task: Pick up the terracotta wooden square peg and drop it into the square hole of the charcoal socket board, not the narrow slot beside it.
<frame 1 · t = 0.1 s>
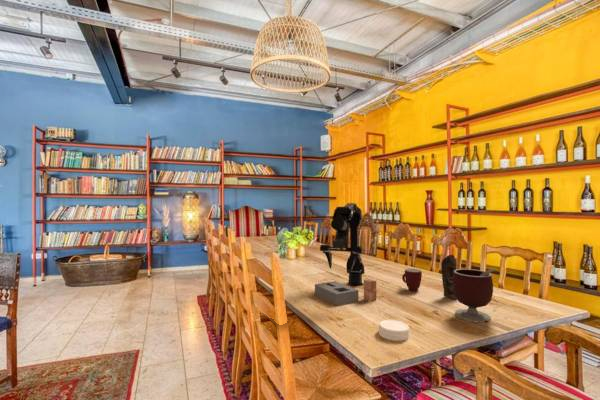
hand: (340, 269, 136), 15 cm above the table, tool pointing down, fingers open, 9 cm apart
coaster: (393, 335, 105), on the table
mug: (411, 290, 158), on the table
mate gourd: (474, 317, 120), on the table
statue: (452, 297, 145), on the table
socket board: (335, 297, 145), on the table
peg: (370, 299, 142), on the table
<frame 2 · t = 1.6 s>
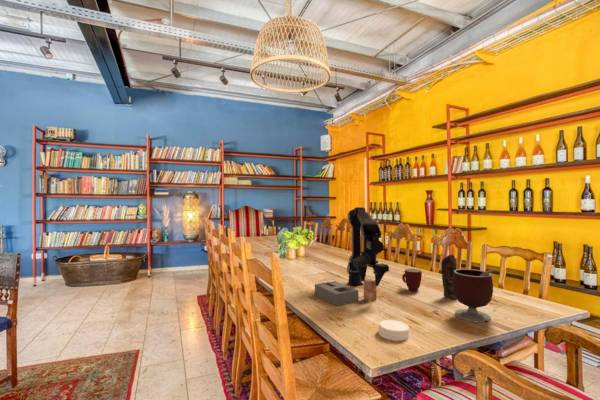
hand: (369, 283, 142), 7 cm above the table, tool pointing down, fingers open, 9 cm apart
nothing on the table moved.
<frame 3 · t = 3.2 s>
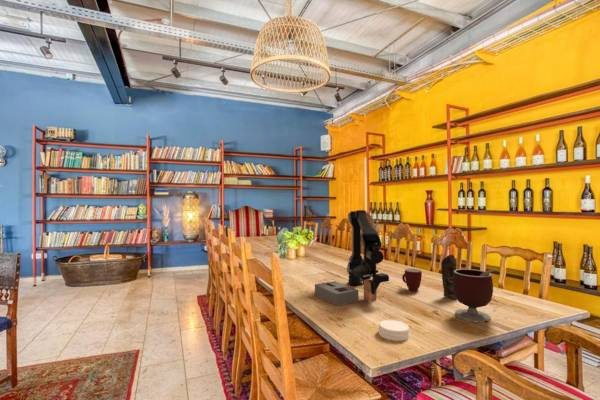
hand: (370, 293, 142), 3 cm above the table, tool pointing down, fingers closed on peg, 4 cm apart
peg: (370, 299, 142), on the table, touching gripper
everything else where it was.
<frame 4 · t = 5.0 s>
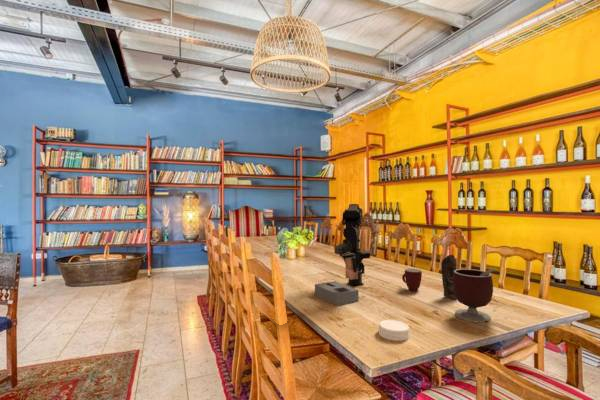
hand: (351, 271, 141), 13 cm above the table, tool pointing down, fingers closed on peg, 4 cm apart
peg: (351, 278, 141), point 10 cm above the table, touching gripper
everything else where it was.
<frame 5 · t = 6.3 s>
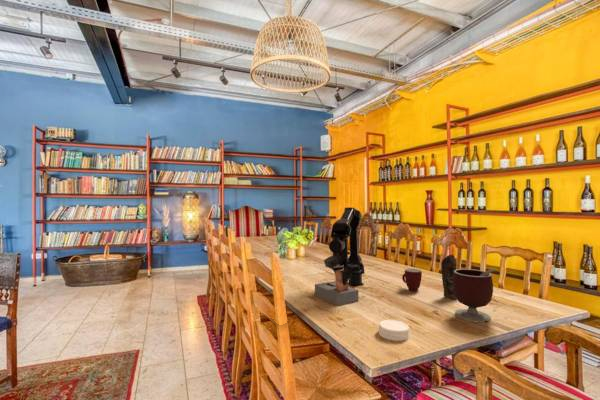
hand: (341, 284, 141), 8 cm above the table, tool pointing down, fingers closed on peg, 4 cm apart
peg: (341, 290, 141), point 4 cm above the table, touching gripper
everything else where it was.
when the fingers open (6 cm above the table, at t = 7.3 s): peg drops 3 cm, resting in socket board.
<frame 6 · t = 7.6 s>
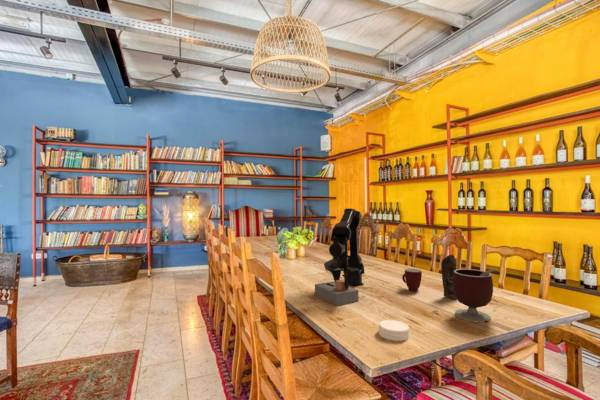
hand: (341, 287, 141), 6 cm above the table, tool pointing down, fingers open, 7 cm apart
peg: (341, 300, 141), resting in socket board
everything else where it was.
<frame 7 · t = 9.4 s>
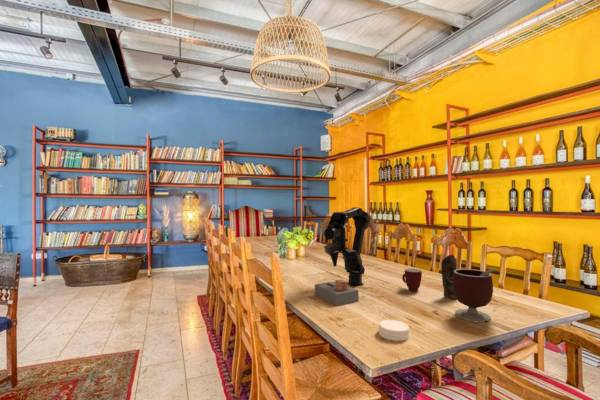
hand: (340, 268, 156), 12 cm above the table, tool pointing down, fingers open, 9 cm apart
nothing on the table moved.
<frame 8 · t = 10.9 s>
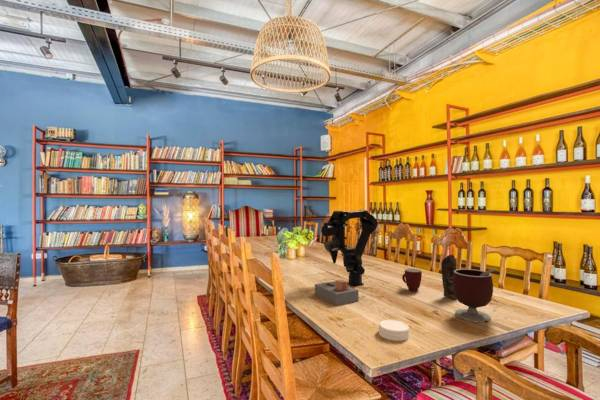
hand: (339, 265, 161), 12 cm above the table, tool pointing down, fingers open, 9 cm apart
nothing on the table moved.
at the end: peg 0.1 cm from the target spot on the socket board, point 0.0 cm above the socket board's base; peg tilted 0°; the gripper is holding nothing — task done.
